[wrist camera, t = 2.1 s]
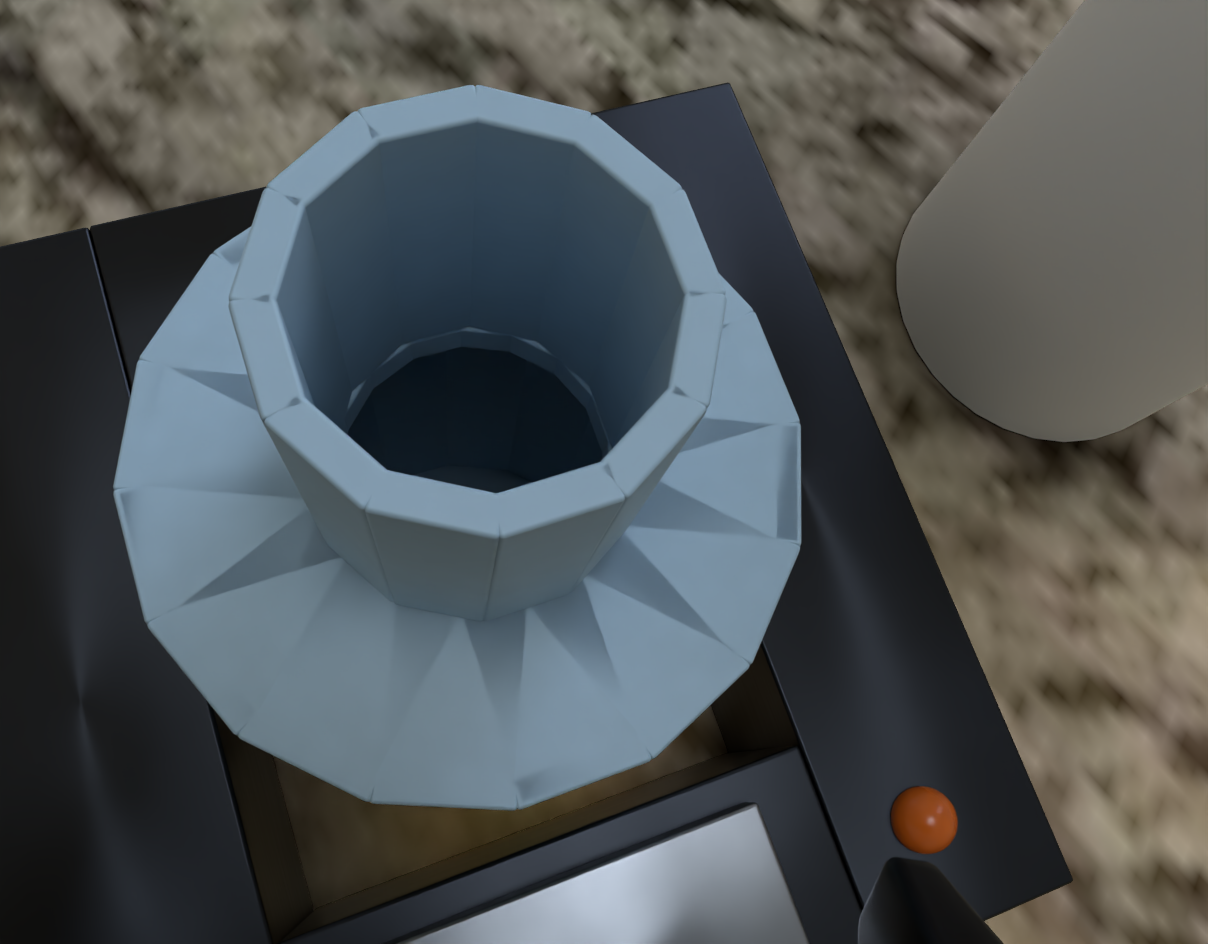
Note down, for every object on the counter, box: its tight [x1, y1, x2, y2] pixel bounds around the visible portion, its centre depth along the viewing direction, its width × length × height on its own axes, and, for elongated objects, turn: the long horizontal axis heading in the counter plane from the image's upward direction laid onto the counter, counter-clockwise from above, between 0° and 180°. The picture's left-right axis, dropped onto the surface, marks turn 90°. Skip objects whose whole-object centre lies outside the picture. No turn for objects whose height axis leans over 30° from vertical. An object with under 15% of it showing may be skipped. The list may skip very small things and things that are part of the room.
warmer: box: [0, 83, 1073, 944], centre depth 18 cm, size 15×15×5 cm
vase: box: [113, 85, 801, 811], centre depth 14 cm, size 7×7×14 cm
